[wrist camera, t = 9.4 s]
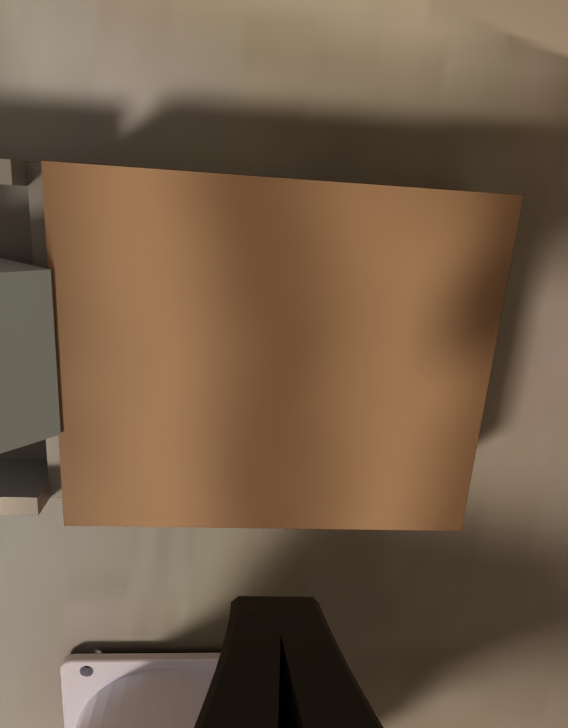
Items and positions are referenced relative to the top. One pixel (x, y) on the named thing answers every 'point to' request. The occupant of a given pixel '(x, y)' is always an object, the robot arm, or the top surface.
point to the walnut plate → (270, 347)
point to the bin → (28, 245)
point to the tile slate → (27, 356)
